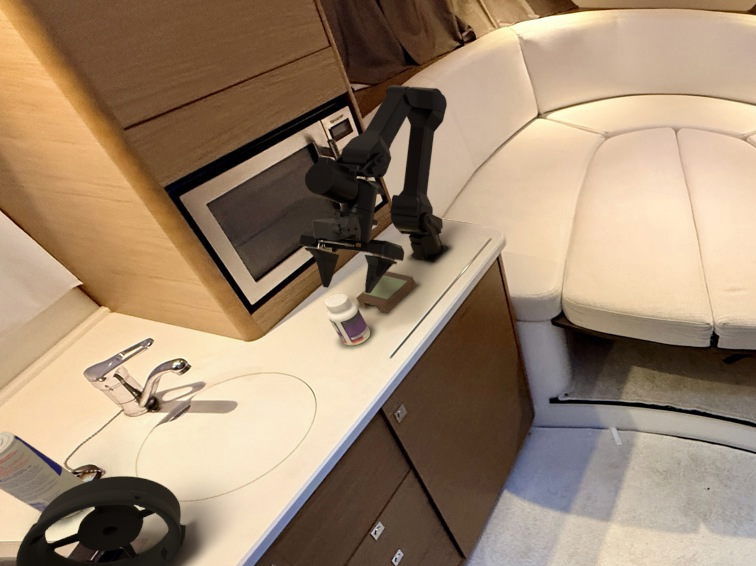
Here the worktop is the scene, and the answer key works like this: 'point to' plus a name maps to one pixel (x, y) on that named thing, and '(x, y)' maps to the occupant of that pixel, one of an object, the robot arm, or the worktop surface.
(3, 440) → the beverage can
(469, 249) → the worktop surface
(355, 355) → the worktop surface
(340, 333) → the pill bottle
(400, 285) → the box with green label
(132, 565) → the black wheel
